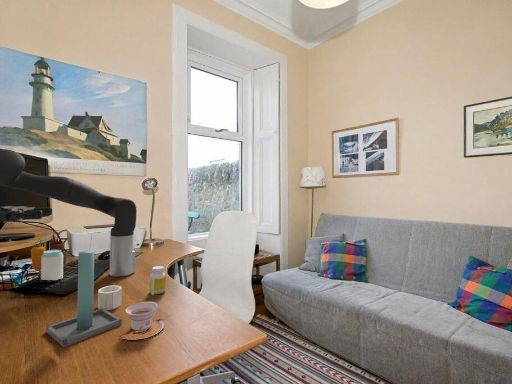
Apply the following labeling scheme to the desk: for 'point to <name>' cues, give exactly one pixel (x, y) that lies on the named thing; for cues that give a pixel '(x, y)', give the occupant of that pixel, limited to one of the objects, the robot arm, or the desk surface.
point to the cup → (109, 297)
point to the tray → (70, 334)
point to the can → (52, 265)
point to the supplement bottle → (157, 281)
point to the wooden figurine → (59, 248)
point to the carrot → (37, 255)
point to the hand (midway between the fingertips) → (47, 213)
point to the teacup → (142, 316)
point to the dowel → (85, 290)
